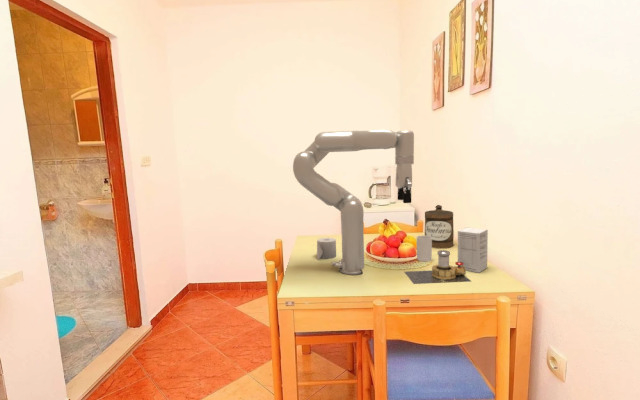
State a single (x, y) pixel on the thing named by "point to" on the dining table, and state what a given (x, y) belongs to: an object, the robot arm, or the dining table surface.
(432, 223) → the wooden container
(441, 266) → the pipe stub
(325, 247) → the toilet tissue
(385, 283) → the dining table surface
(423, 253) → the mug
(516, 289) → the dining table surface
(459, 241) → the supplement box
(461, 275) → the fitting board
